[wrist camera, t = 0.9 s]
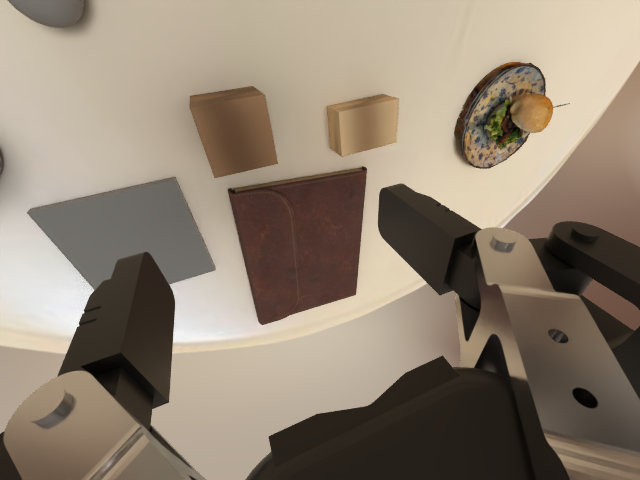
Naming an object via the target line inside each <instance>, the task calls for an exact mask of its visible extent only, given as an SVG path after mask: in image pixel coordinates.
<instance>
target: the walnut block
mask: <svg viewBox="0 0 640 480" xmlns="http://www.w3.org/2000/svg"><path fill="white" fill-rule="evenodd" d="M190 109H191V112H192V115H193V118H194V121H195V123H196V126H197V129H198V132H199V135H200V138H201V141H202V143H203V146H204V149H205V152H206V155H207V158H208V160H209V163H210V166H211V169H212V172H213V175H214V177H215V178H218V177H222V176H226V175H231V174H235V173H239V172H244V171H248V170H252V169H257V168H261V167H265V166H270V165H274V164H278V161H277V156H276V151H275V146H274V141H273V136H272V130H271V125H270V120H269V115H268V110H267V105H266V99H265V95H264V94H263V93H261V92H260V91H259V90H257V89H256V88H254V87H253V86H251V87H244V88H238V89H232V90H226V91H219V92H213V93H207V94H200V95H194V96H190Z"/></svg>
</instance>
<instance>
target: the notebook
mask: <svg viewBox="0 0 640 480" xmlns="http://www.w3.org/2000/svg"><path fill="white" fill-rule="evenodd" d="M366 174H367V168H366V167H362V168H357V169H351V170H345V171H339V172H333V173H327V174H321V175H315V176H308V177H302V178H296V179H290V180H284V181H278V182H272V183H266V184H260V185H254V186H248V187H242V188H236V189H234V191H235V193H233V192H232V189H231V188H230V189H228V193H229V197H230V201H231V205H232V210H233V214H234V218H235V223H236V227H237V231H238V235H239V240H240V244H241V248H242V252H243V257H244V261H245V265H246V270H247V274H248V278H249V282H250V287H251V291H252V295H253V299H254V304H255V308H256V312H257V317H258V321H259V323H260V324H261V325H264V324H268V323H271V322H274V321H278V320H281V319H283V318H285V317H287V316H289V315H292V314H295V313H298V312H301V311H305V310H308V309H311V308H314V307H318V306H321V305H324V304H327V303H331V302H334V301H337V300H340V299H344V298H347V297H350V296H353V295H356V288H357V276H358V265H359V254H360V242H361V231H362V220H363V208H364V197H365V186H366Z"/></svg>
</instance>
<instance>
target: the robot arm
mask: <svg viewBox="0 0 640 480" xmlns="http://www.w3.org/2000/svg"><path fill="white" fill-rule="evenodd" d="M378 228H379V232H380V234H381V236H382V238H383V239H384V240H385V241H386V242H387V243H388V244H389V245H390V246H391V247H392V248H393V249H394V250H395V251H396V252H397V253H398V254H399V255H400V256H401V257H402V258H403V259H404V260H405V261H406V262H407V263H408V264H409V265H410V266H411V267H412V268H413V269H414V270H415V271H416V272H417V273H418V274H419V275H420V276H421V277H422V278H423V279H424V280H425V281H426V282H427V283H428V284H429V285H430V286H431V287H432V288H433V289H434V290H435V291H436V292H437V293H438V294H439V295H442V294H445V293H447V292H450V291H452V290H454V291H455V292H456V293H457V295H456V299H455V304H456V312H457V320H458V329H459V337H460V345H461V357H460V364H459V367H451V365H450V364H449V363H448V362H447V360H446V359H445V358H444V357H443V356H441V357H439V358H437V359H435V360H432V361H430V362H428V363H426V364H424V365H422V366H419V367H417V368H415V369H413V370H411V371H409V372H407V373H405V374H404V375H403V376H401V377H400V378H399V380H397V381H396V382H395V383H394V384H393V385H392V386H391V387H390V388H388V389H387V390H386V391H385V392H384V393H383V394H382V395H381V396H380V397H379V398H378V399H377V400H375V401H374V402H373V403H372V404H371V405H368V406H365V407H360V408H353V409H347V410H340V411H334V412H328V413H321V414H316V415H314V416H312V417H310V418H307V419H305V420H303V421H301V422H299V423H297V424H295V425H292V426H290V427H288V428H286V429H284V430H282V431H280V432H277V433H275V434H273V435H271V436H269V441H270V446H271V452H270V453H269V454H268V455H267V456H266V457H265V458H264V459H263V460H262V461H261V462H260V463H259V464H258V465H257V466H256V467H255V468H254V469H253V470H252V472H251V473H250V474H249V476H248V477H247V479H246V480H640V327H639V328H638V329H637V330H635V331H634V330H632V329H630V328H629V327H627V326H626V325H624V324H623V323H622V322H620V321H619V320H617V319H616V318H614V317H613V316H611V315H610V314H608V313H607V312H606V311H604V310H603V309H601V308H600V307H598V306H597V305H595V304H594V303H592V302H591V301H589V300H588V299H587V298H585V297H584V296H582V293H583V292H584V290H585V289H586V288H587V286H588V285H589V284H590V282H591V281H592V280H593V279H594V280H596V281H597V282H599V283H600V284H602V285H604V286H605V287H607V288H609V289H610V290H612V291H614V292H615V293H617V294H618V295H620V296H622V297H623V298H625V299H626V300H628V301H629V302H631V303H633V304H634V305H635V306H637V307H638V308H639V310H640V247H638V246H636V245H634V244H632V243H630V242H628V241H626V240H624V239H622V238H619V237H617V236H615V235H613V234H611V233H609V232H607V231H605V230H603V229H600V228H598V227H595V226H593V225H589V224H585V223H581V222H572V221H571V222H570V221H569V222H568V221H567V222H560V223H557V224H555V226H554V227H553V228H552V230H551V232H550V234H549V236H548V238H538V239H527V238H526V237H524V236H523V235H521V234H519V233H517V232H514V231H512V230H508V229H504V228H494V227H493V228H485V229H480V228H479V227H477V226H476V225H474V224H472V223H471V222H469V221H468V220H466V219H464V218H463V217H461V216H460V215H458V214H457V213H455V212H453V211H452V210H451V211H450V210H449V208H447V207H445V206H444V205H441V203H439V202H438V201H436V200H434V199H433V198H431V197H429V196H426V195H423V194H420V193H417V192H415V191H413V190H412V189H410V188H409V187H407V186H406V185H404V184H397V185H393V186H389V187H386V188H382V189H381V191H380V194H379V212H378ZM84 312H85V313H84V314H82V317H81V319H80V322H79V325H80V326H79V327H77V329H76V332H75V334H74V337H73V339H72V342H71V344H70V346H69V349H68V351H67V354H66V356H65V359H64V361H63V364H62V366H61V369H60V371H59V374H58V376H57V377H56V378H54V379H52V380H50V381H49V382H47V383H45V384H44V385H42V386H41V387H40V388H38V389H37V390H36V391H35V392H33V393H32V394H31V395H30V396H29V397H28V398H27V399H26V400H25V401H24V402H23V403H22V404H21V405H20V406H19V407H18V408H17V410H16V411H15V412H14V414H13V415H12V417H11V419H10V420H9V422H8V424H7V426H6V429H5V431H4V432H2V433H1V434H0V480H206V479H205V478H204V477H202V475H200V474H199V473H198V472H197V471H196V470H195V469H194V468H193V467H192V466H191V465H190V464H189V462H187V460H186V459H184V457H183V456H182V455H181V454H180V453H179V452H178V451H177V450H176V449H175V448H174V447H173V446H172V445H171V444H170V443H169V442H168V441H167V440H166V439H165V438H164V437H163V436H162V435H161V434H160V433H159V432H158V431H157V430H156V429H155V428H154V427H153V426H152V425H151V415H152V409H154V408H156V407H159V406H161V405H163V404H166V403H169V392H170V377H171V361H172V345H173V329H174V313H175V299H174V295H173V292H172V289H171V287H170V285H169V284H168V282H167V280H166V279H165V277H164V275H163V274H162V272H161V270H160V269H159V267H158V265H157V264H156V262H155V260H154V259H153V257H152V256H151V254H150V253H148V252H143V253H139V254H136V255H132V256H128V257H125V258H121V259H118V260H117V262H116V265H115V268H114V271H113V273H112V276H111V279H108V280H104V281H103V282H102V283H101V284H100V285H99V286H98V287H97V288H96V290H95V291H94V292H93V293H92V294H91V295H90V297H89V300H88V302H87V304H86V307H85V309H84Z"/></svg>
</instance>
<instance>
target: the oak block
mask: <svg viewBox="0 0 640 480" xmlns="http://www.w3.org/2000/svg"><path fill="white" fill-rule="evenodd" d="M398 106H399V98H395V97H391V96H387V95H384V94H382V95H377V96H373V97H368V98H363V99H359V100H354V101H350V102H345V103H340V104H336V105H331V106H327V114H328V124H329V135H330V146H331V149H332V150H334V151H335V152H336V153H338V154H339V155H340V156H342V157H343V156H347V155H350V154H354V153H358V152H362V151H366V150H369V149H373V148H377V147H381V146H385V145H388V144H392V143H396V141H397V123H398Z"/></svg>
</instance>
